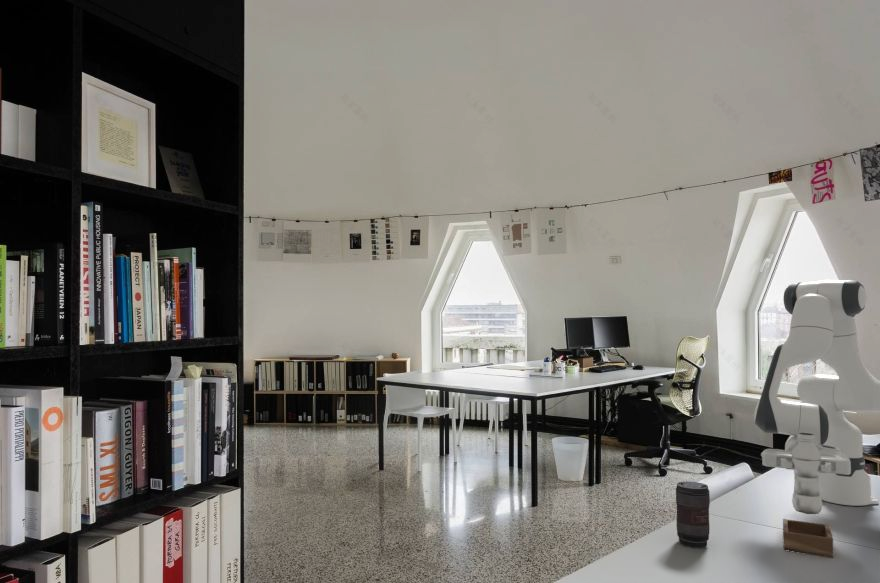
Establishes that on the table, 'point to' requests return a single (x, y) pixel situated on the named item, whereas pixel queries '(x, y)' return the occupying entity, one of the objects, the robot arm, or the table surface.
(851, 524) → the table surface
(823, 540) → the open wooden box
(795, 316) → the robot arm
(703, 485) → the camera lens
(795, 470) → the plastic bottle
